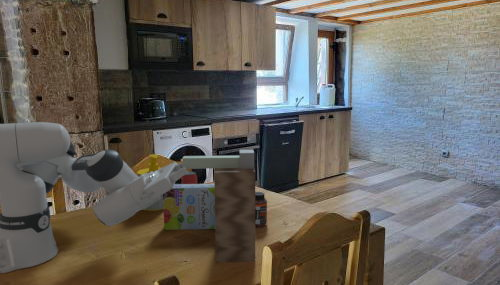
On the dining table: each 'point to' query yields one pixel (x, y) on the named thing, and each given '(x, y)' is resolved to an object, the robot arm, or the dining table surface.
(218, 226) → the walnut stand
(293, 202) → the dining table surface
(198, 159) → the bar
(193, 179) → the beer can
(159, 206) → the grey canister
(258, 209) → the supplement bottle
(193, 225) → the snack box
